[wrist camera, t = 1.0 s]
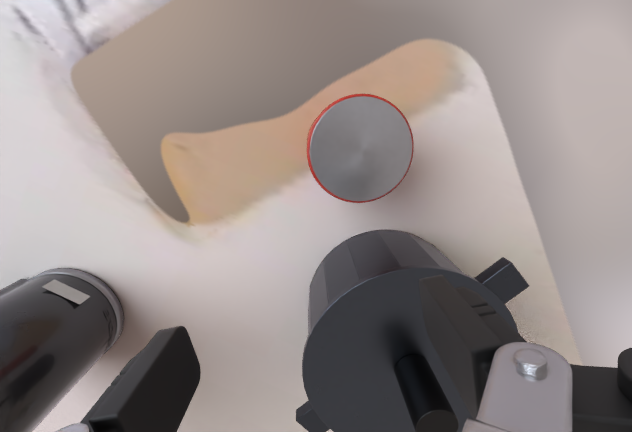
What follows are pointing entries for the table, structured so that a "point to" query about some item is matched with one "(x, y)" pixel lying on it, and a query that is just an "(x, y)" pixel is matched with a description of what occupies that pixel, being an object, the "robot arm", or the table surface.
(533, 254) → the table surface
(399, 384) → the pot lid
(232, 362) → the table surface
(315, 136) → the tomato can
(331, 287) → the pot
